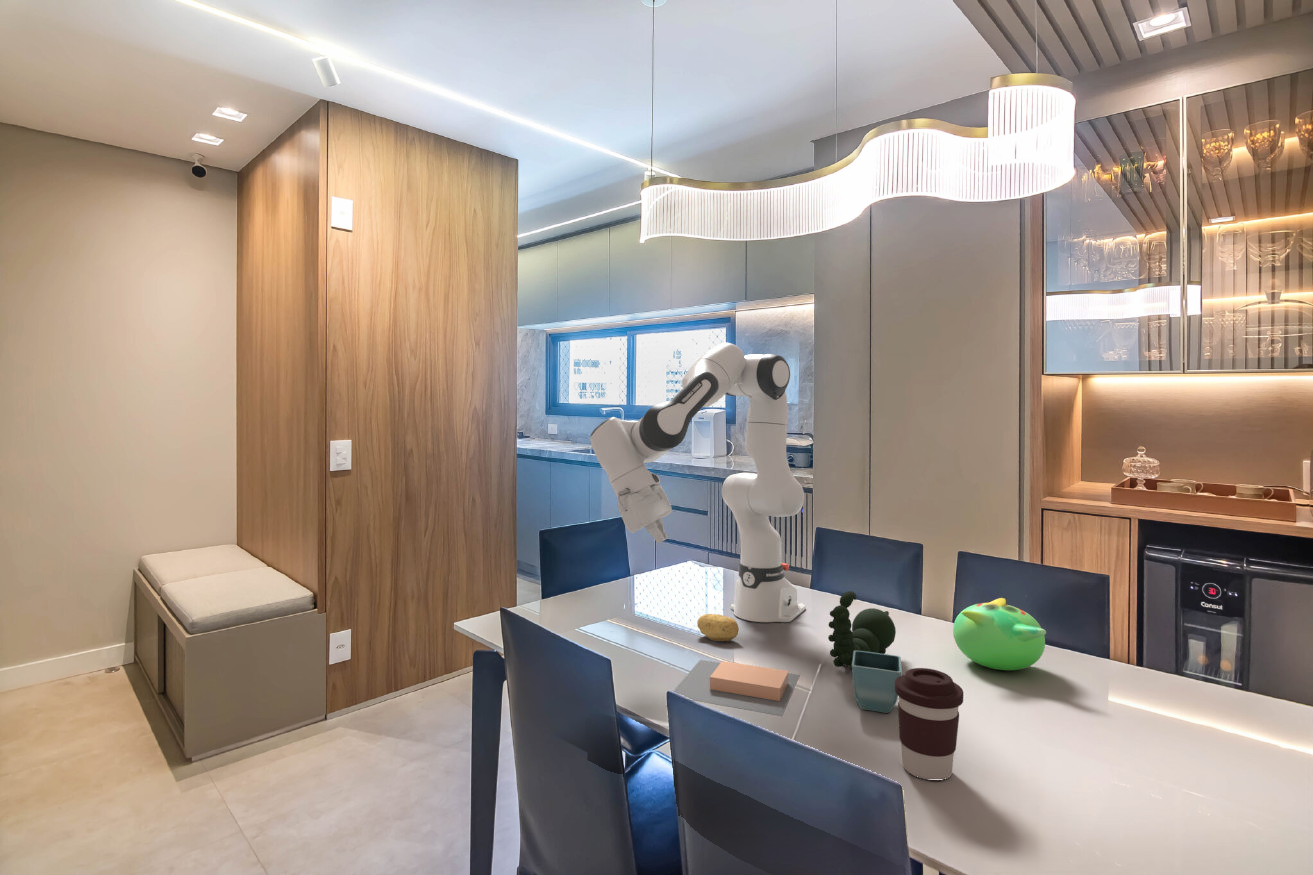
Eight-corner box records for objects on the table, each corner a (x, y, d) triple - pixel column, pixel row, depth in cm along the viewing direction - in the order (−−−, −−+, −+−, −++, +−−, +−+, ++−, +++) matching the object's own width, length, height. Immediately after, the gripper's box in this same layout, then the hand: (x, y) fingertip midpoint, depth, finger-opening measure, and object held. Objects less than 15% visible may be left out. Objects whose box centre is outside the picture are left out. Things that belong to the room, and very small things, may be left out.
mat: (669, 698, 127) (669, 695, 127) (700, 662, 146) (700, 659, 146) (781, 718, 119) (781, 715, 119) (799, 677, 138) (799, 674, 138)
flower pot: (899, 700, 127) (900, 655, 127) (900, 720, 119) (902, 672, 119) (852, 693, 130) (853, 649, 130) (850, 712, 122) (851, 665, 121)
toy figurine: (859, 692, 135) (908, 650, 153) (857, 603, 133) (906, 571, 151) (818, 679, 141) (869, 640, 159) (815, 594, 139) (868, 564, 157)
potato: (726, 649, 154) (726, 623, 154) (691, 637, 162) (691, 612, 162) (743, 642, 159) (744, 616, 159) (708, 631, 167) (709, 607, 166)
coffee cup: (882, 754, 107) (884, 664, 106) (940, 751, 108) (942, 662, 107) (911, 788, 97) (913, 690, 97) (974, 786, 98) (977, 688, 97)
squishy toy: (1039, 661, 148) (1041, 597, 147) (1049, 689, 133) (1051, 618, 132) (952, 648, 156) (954, 587, 155) (952, 673, 140) (953, 606, 140)
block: (709, 676, 130) (780, 688, 125) (722, 660, 138) (788, 670, 133) (709, 689, 130) (779, 701, 125) (722, 673, 138) (788, 683, 133)
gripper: (627, 485, 136) (658, 545, 134) (660, 474, 155) (688, 526, 153) (603, 499, 138) (634, 557, 136) (639, 486, 157) (666, 537, 155)
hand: (663, 541), depth 145 cm, fingers closed
